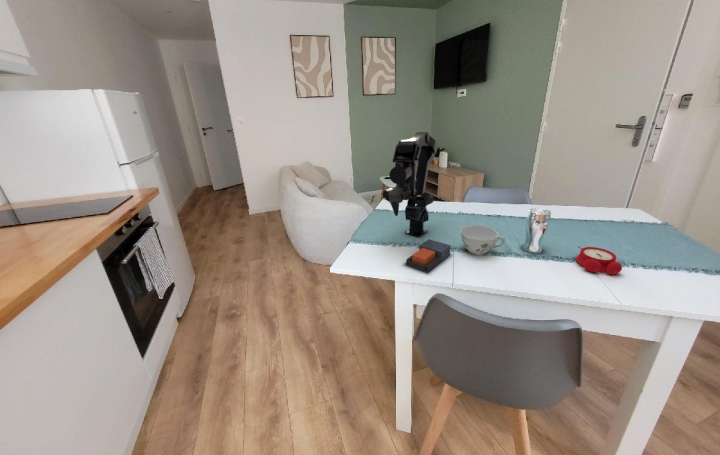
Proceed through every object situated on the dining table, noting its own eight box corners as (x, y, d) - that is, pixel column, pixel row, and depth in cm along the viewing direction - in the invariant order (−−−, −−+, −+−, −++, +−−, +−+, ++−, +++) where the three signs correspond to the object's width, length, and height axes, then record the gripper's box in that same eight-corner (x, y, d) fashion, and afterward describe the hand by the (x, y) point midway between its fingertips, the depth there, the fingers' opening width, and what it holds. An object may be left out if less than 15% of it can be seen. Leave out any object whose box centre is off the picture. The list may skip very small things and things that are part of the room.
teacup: (459, 257, 104) (460, 237, 100) (458, 242, 115) (460, 224, 111) (505, 262, 99) (508, 241, 96) (500, 246, 110) (503, 226, 107)
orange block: (422, 256, 105) (422, 247, 103) (434, 260, 102) (435, 251, 100) (411, 264, 100) (412, 255, 99) (424, 268, 97) (424, 259, 96)
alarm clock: (609, 247, 98) (633, 259, 84) (605, 265, 99) (629, 279, 85) (573, 244, 101) (590, 255, 87) (570, 261, 102) (586, 274, 88)
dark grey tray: (428, 248, 111) (428, 239, 110) (449, 255, 106) (450, 245, 104) (405, 265, 101) (405, 254, 99) (427, 273, 95) (428, 262, 94)
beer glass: (537, 245, 110) (545, 207, 104) (547, 253, 103) (556, 214, 97) (518, 245, 110) (525, 207, 104) (526, 253, 104) (534, 214, 98)
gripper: (372, 178, 103) (373, 219, 109) (417, 185, 91) (416, 231, 97) (391, 172, 111) (391, 211, 117) (435, 178, 99) (432, 221, 105)
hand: (406, 218), depth 109 cm, fingers open, 9 cm apart
